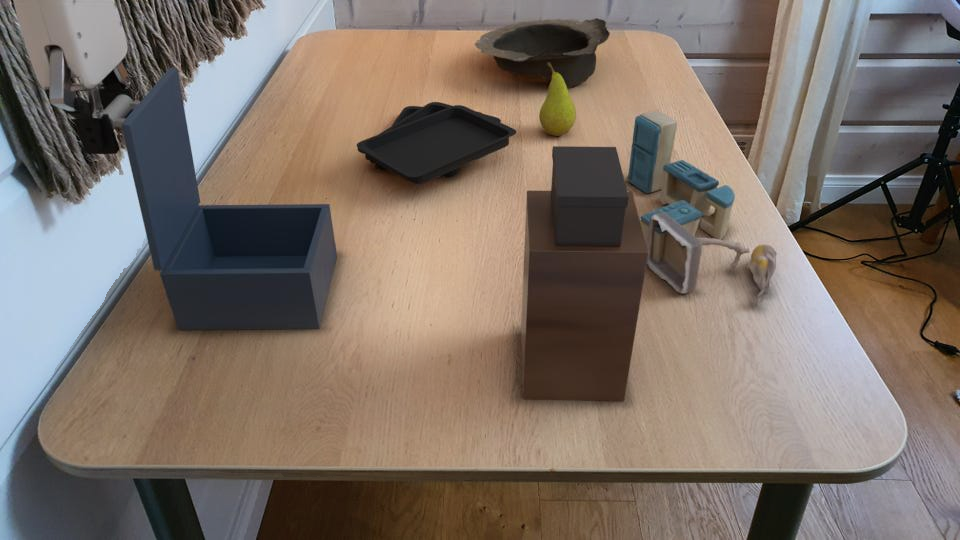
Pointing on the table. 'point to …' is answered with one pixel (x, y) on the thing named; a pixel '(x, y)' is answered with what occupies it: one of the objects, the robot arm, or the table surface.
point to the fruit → (557, 107)
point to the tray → (435, 141)
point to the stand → (578, 308)
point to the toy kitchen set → (674, 182)
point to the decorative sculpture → (686, 252)
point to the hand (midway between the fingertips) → (114, 137)
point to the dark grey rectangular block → (588, 196)
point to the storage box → (252, 267)
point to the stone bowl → (547, 48)
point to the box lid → (159, 162)
